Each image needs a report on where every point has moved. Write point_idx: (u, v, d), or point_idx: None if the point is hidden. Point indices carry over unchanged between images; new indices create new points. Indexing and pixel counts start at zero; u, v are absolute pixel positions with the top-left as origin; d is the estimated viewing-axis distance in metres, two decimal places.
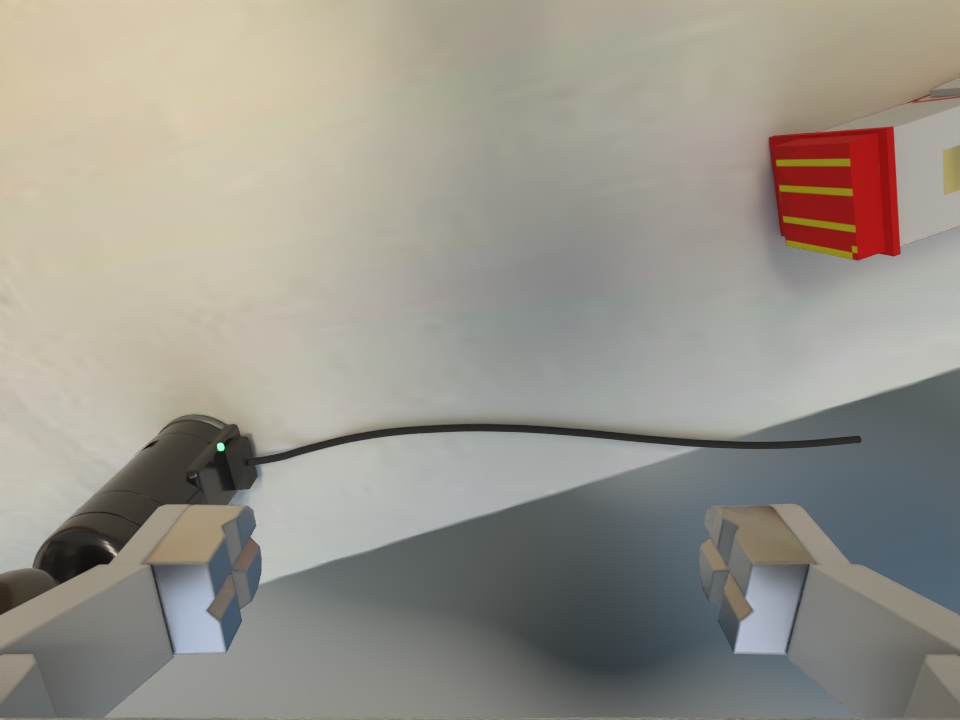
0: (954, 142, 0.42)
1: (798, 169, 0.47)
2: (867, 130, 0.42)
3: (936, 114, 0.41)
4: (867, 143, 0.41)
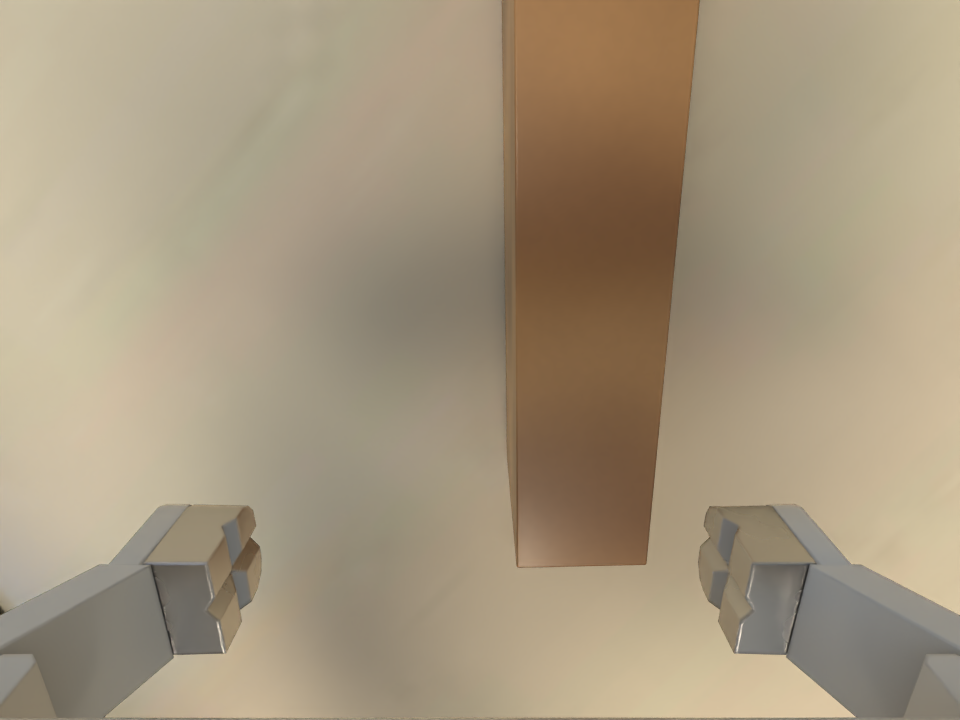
0: None
1: None
2: None
3: None
4: None
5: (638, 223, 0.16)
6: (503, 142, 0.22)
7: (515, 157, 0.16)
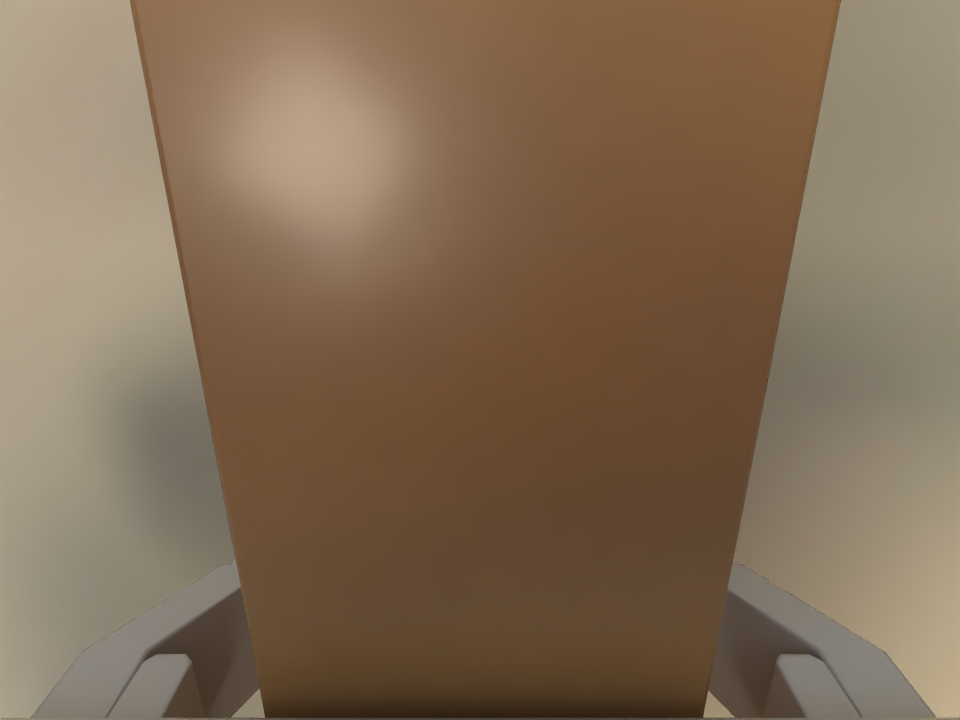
0: None
1: None
2: None
3: None
4: None
5: (631, 357, 0.05)
6: None
7: (154, 104, 0.04)
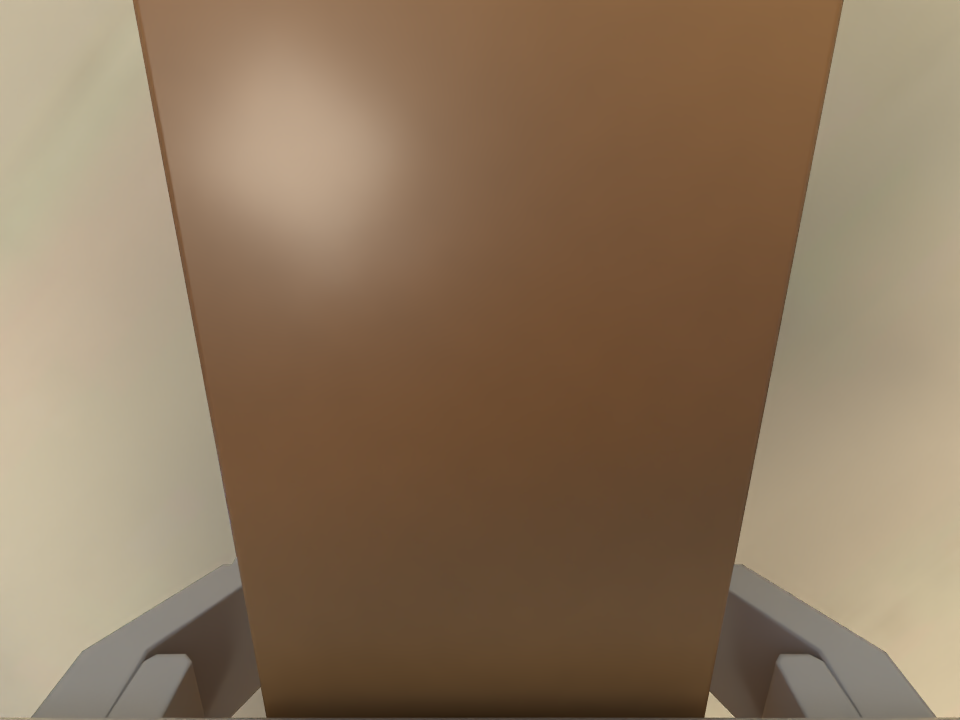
0: None
1: None
2: None
3: None
4: None
5: (634, 356, 0.05)
6: None
7: (156, 101, 0.04)
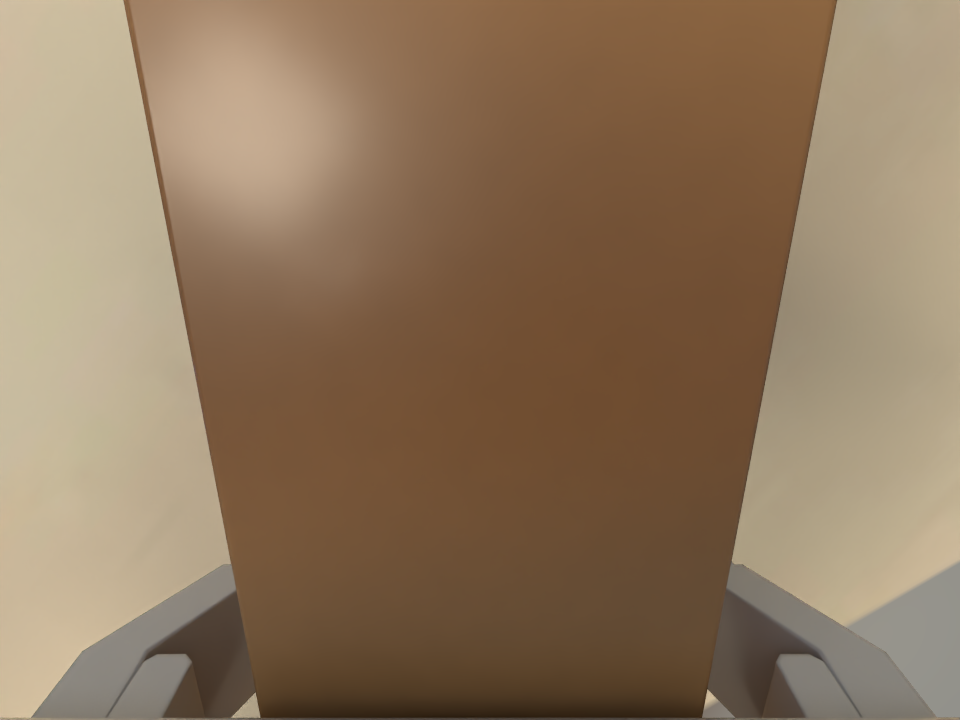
0: None
1: None
2: None
3: None
4: None
5: (628, 352, 0.05)
6: None
7: (146, 94, 0.04)
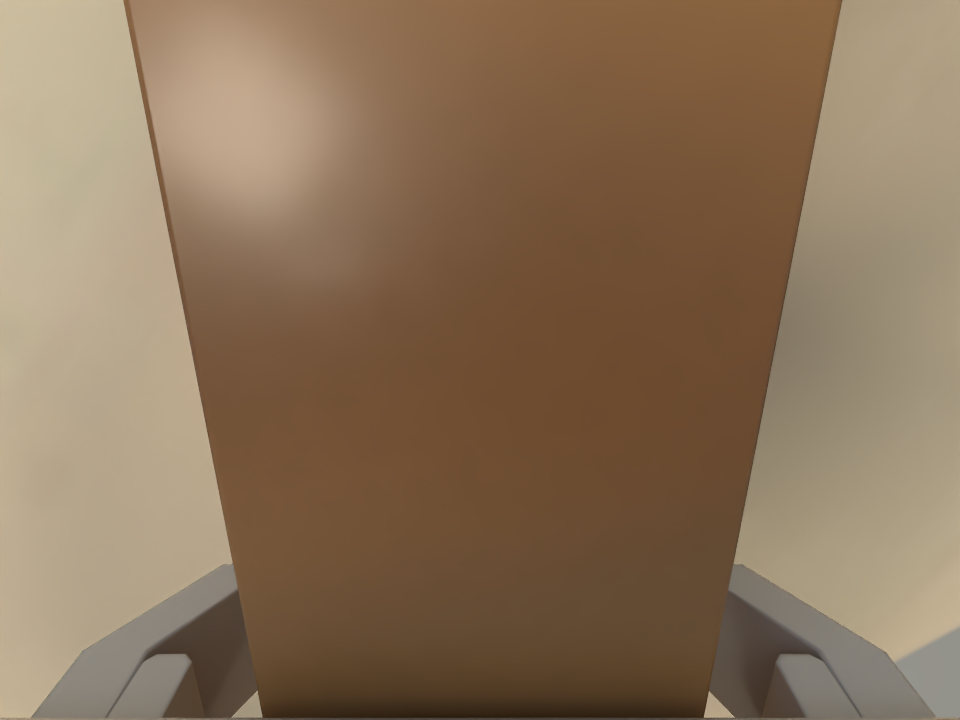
0: None
1: None
2: None
3: None
4: None
5: (631, 358, 0.05)
6: None
7: (148, 102, 0.04)
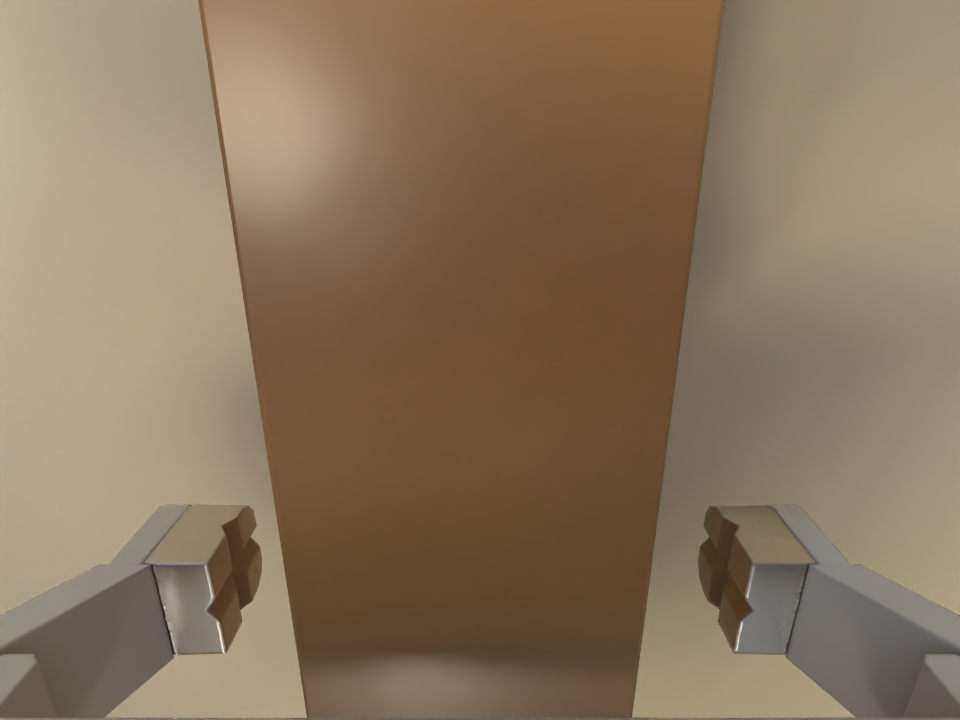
0: None
1: None
2: None
3: None
4: None
5: (577, 296, 0.06)
6: None
7: (216, 100, 0.05)
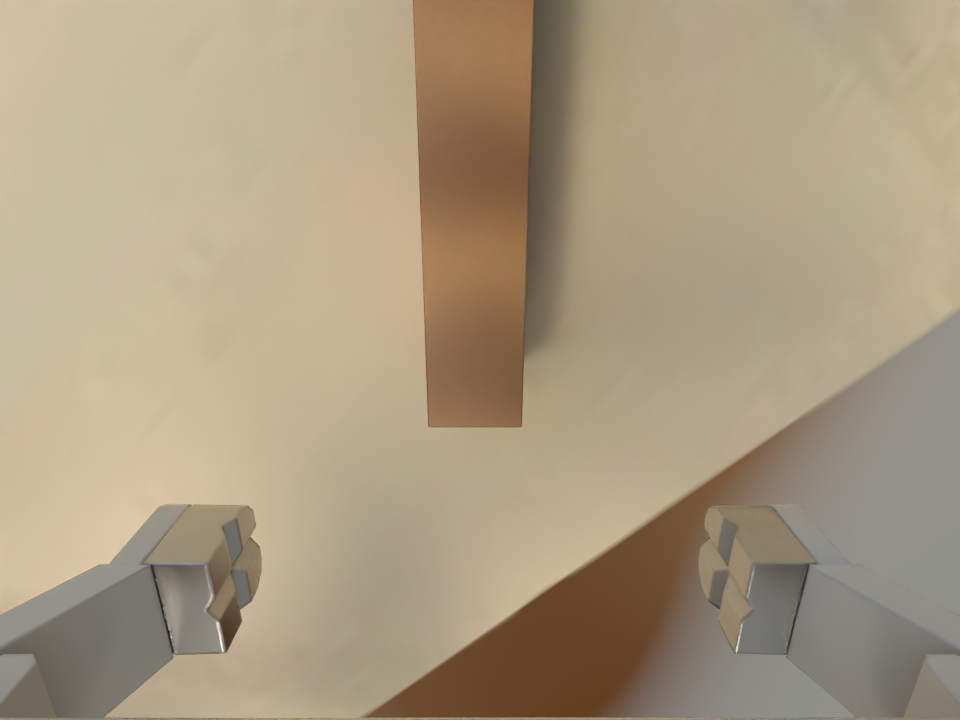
0: None
1: None
2: None
3: None
4: None
5: (502, 173, 0.24)
6: None
7: (418, 125, 0.24)
